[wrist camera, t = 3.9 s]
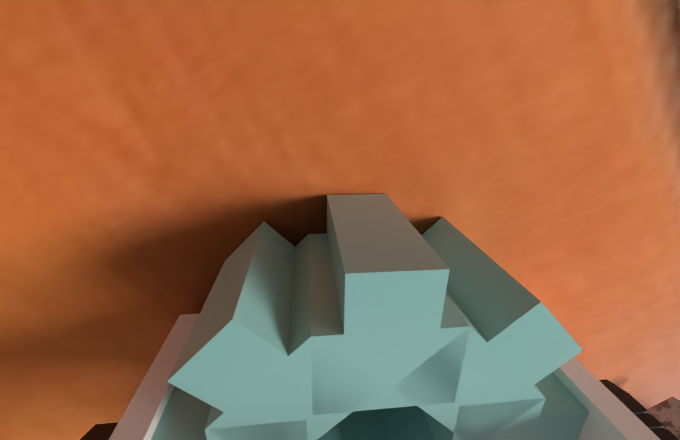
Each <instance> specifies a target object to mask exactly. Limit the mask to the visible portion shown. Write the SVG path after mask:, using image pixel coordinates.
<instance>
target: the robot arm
mask: <svg viewBox="0 0 680 440" xmlns="http://www.w3.org/2000/svg"><path fill="white" fill-rule="evenodd" d="M199 314H200V313H199ZM199 314H180V316H179V317H178V319H177V321H176V323H175V324H174V326H173V328H172V330H171V331H170V333H169V335H168V337H167V338H166V340H165V342H164V344H163V345H162V347H161V349H160V351H159V352H158V354H157V356H156V358H155V359H154V361H153V363H152V365H151V366H150V368H149V370H148V372H147V373H146V375H145V377H144V379H143V380H142V382H141V384H140V386H139V387H138V389H137V391H136V393H135V394H134V396H133V398H132V400H131V402H130V403H129V405H128V407H127V409H126V410H125V412H124V414H123V416H122V417H121V419H120V421H119V423H107V424H96V425H95V426H94V427H93V428H92V429H91V430H90V431H89V432H87V433H86V434H85V435H84V436H83V437H82V438H81V439H80V440H151V438H152V436H153V434H154V432H155V429H156V427H157V425H158V423H159V420H160V418H161V416H162V414H163V411H164V409H165V407H166V405H167V402H168V400H169V398H170V396H171V393H172V391H173V389H174V387H175V386H174V385H172V384H170V383H169V382H167V380H168V378H169V376H170V374H171V372H172V370H173V368H174V366H175V364H176V362H177V360H178V357H179V355H180V353H181V351H182V349H183V347H184V345H185V343H186V341H187V339H188V337H189V335H190V333H191V330H192V328H193V326H194V324H195V322H196V320H197V318H198V316H199ZM553 373H554V374H555V375H556V376H557V377H558V378H559V379H560V381H561V382H562V383H563V384H564V385H565V386H566V387H567V388H568V389H569V391H570V392H571V393H572V394H573V395H574V396H575V397H576V398H577V399H578V400H579V402H580V403H581V404H582V405H583V406H584V407H585V408H586V409H587V410H588V412H589V414H588V417H587V419H586V421H585V424H584V426H583V428H582V431H581V433H580V435H579V438H578V440H679V439H678V438H677V437H676V436H675V435H674V434H673V433H671V432H670V431H669V430H668V429H667V430H666V429H665V428H664V425H663V424H662V423H661V422H659V421H658V420H657V419H656V418H655V417H654V416H653V415H652V414H651V415H650V414H649V413H648V411H647V410H646V409H645V408H644V407H643V406H642V405H641V404H640V403H639V402H638V401H636V400H635V399H634V398H633V397H632V396H631V395H630V394H629V393H627V392H626V391H624V390H622V389H621V388H619V387H618V386H616V385H615V384H613V383H612V382H610V381H608V380H598V379H597V378H596V377H595V376H594V375H593V374H592V373H591V372H590V371H589V370H588V369H587V368H586V367H585V366H583V365H582V364H581V363H580V362H579V361H578V360H577V359H576V358H575V357H573V358H572V359H570V360H569V361H567V362H566V363H564V364H563V365H562V366H560V367H559V368H557V369H556V370H554V371H553Z"/></svg>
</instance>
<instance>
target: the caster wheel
mask: <svg viewBox="0 0 680 440" xmlns="http://www.w3.org/2000/svg"><path fill="white" fill-rule="evenodd" d="M647 411H648V413H649V414H650V415H651V414H652V415H653V416H654V417H655V418H656V419H657V420H658V421H659V422H661V423H662V424H663V425H664V428H665V429H666V430H667V429H668V430H669V431H670V432H671V433H673V434H674V435H675V436H676V437H677V438H678V439H679V440H680V401H679V400H677V399H676V398H674V397H671V398H669V399H667V400H665V401H663V402H661V403H659V404H657V405H655V406H653V407H651V408H649V409H647Z"/></svg>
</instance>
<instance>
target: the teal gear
mask: <svg viewBox="0 0 680 440" xmlns="http://www.w3.org/2000/svg"><path fill="white" fill-rule="evenodd" d="M582 351H583V350H582V349H581V348H580V346H579V345H578V344H577V343H576V342H575V341H574V339H573V338H572V337H571V336H570V335H569V334H568V333H567V331H566V330H565V329H564V328H563V327H562V326H561V324H560V323H559V322H558V321H557V320H556V319H555V318H554V316H553V315H552V314H551V313H550V312H549V311H548V309H547V308H546V307H545V306H544V305H543V304H542V303H541V302H540V301H539V300H538V299H537V298H536V297H535V296H534V295H532V294H531V293H530V292H529V291H528V290H527V289H525V288H524V287H523V286H522V285H521V284H520V283H519V282H517V281H516V280H515V279H514V278H513V277H512V276H510V275H509V274H508V273H507V272H506V271H505V270H504V269H502V268H501V267H500V266H499V265H498V264H497V263H495V262H494V261H493V260H492V259H491V258H490V257H489V256H487V255H486V254H485V253H484V252H483V251H482V250H480V249H479V248H478V247H477V246H476V245H475V244H474V243H472V242H471V241H470V240H469V239H468V238H467V237H465V236H464V235H463V234H462V233H461V232H460V231H459V230H457V229H456V228H455V227H454V226H453V225H452V224H450V223H449V222H448V221H447V220H446V219H445V218H444V217H442V218H440V219H439V220H438V221H437V222H436V223H435V224H434V225H432V226H431V227H430V228H429V229H428V230H427V231H426V232H425V233H423V234H422V235H420V233H419V232H418V231H417V230H416V229H415V228H414V226H413V225H412V224H411V223H410V222H409V220H408V219H407V218H406V217H405V216H404V215H403V213H402V212H401V211H400V210H399V209H398V207H397V206H396V205H395V204H394V203H393V201H392V200H391V199H390V198H389V197H388V196H387V194H348V195H327V234H308V235H307V236H306V237H304V238H303V239H302V240H301V241H300V242H299V243H298V244H297V245H296V246H293V245H292V244H291V243H290V242H289V241H287V240H286V239H285V238H284V237H282V236H281V235H280V234H279V233H278V232H276V231H275V230H274V229H273V228H272V227H270V226H269V225H268V224H267V223H266V222H263V223H262V224H261V225H260V226H259V227H258V228H257V229H256V230H255V231H254V232H253V233H252V234H251V235H250V236H249V237H248V238H247V239H246V240H245V241H244V242H243V243H242V244H241V245H240V246H239V247H238V248H237V249H236V250H235V251H234V252H233V253H232V254H231V255H230V256H229V257H228V258H227V259H226V260H225V262H224V264H223V266H222V268H221V270H220V272H219V274H218V276H217V278H216V281H215V283H214V285H213V287H212V289H211V291H210V293H209V295H208V297H207V299H206V301H205V303H204V305H203V308H202V310H201V312H200V314H199V316H198V318H197V320H196V322H195V324H194V326H193V328H192V330H191V333H190V335H189V337H188V339H187V341H186V343H185V345H184V347H183V349H182V351H181V353H180V355H179V357H178V360H177V362H176V364H175V366H174V368H173V370H172V372H171V374H170V376H169V378H168V380H167V382H169V383H170V384H172V385H174V386H175V387H174V389H173V391H172V393H171V396H170V398H169V400H168V402H167V405H166V407H165V409H164V411H163V414H162V416H161V418H160V420H159V423H158V425H157V427H156V429H155V432H154V434H153V436H152V438H151V440H578V438H579V435H580V433H581V431H582V428H583V426H584V424H585V421H586V419H587V417H588V414H589V412H588V410H587V409H586V408H585V407H584V406H583V405H582V404H581V403H580V402H579V400H578V399H577V398H576V397H575V396H574V395H573V394H572V393H571V392H570V391H569V389H568V388H567V387H566V386H565V385H564V384H563V383H562V382H561V381H560V379H559V378H558V377H557V376H556V375H555V374H554V373H553V371H554V370H556V369H557V368H559V367H560V366H562V365H563V364H564V363H566V362H567V361H569V360H570V359H572V358H573V357H574V356H576V355H577V354H579V353H580V352H582Z"/></svg>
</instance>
